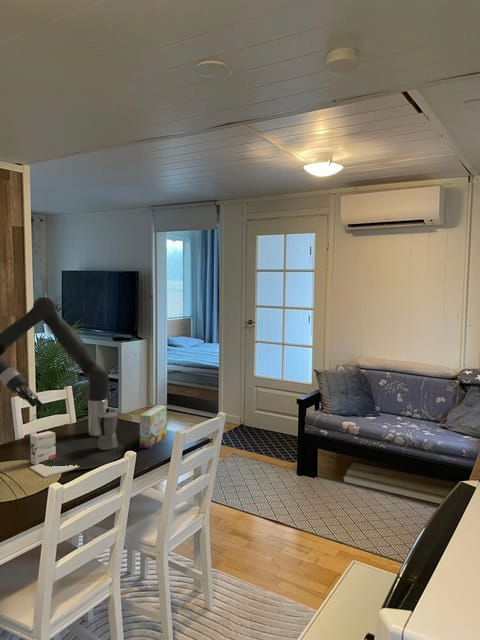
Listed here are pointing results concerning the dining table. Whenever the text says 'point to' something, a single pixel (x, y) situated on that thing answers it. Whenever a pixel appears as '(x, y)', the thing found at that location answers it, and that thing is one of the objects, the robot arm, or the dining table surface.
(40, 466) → the mat
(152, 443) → the snack box
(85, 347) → the robot arm
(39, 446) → the ink box
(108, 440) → the coffeepot
